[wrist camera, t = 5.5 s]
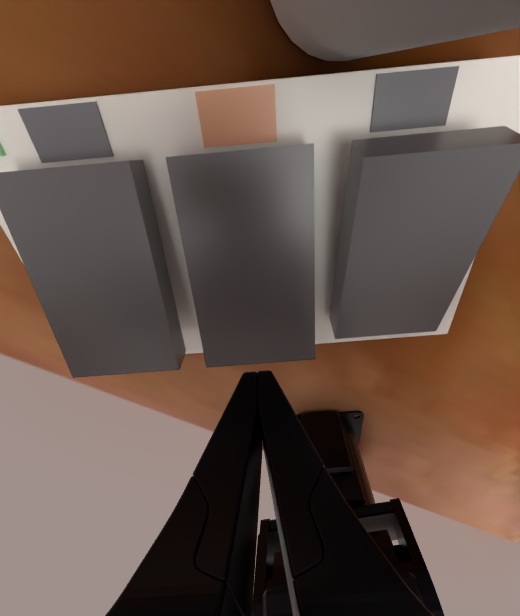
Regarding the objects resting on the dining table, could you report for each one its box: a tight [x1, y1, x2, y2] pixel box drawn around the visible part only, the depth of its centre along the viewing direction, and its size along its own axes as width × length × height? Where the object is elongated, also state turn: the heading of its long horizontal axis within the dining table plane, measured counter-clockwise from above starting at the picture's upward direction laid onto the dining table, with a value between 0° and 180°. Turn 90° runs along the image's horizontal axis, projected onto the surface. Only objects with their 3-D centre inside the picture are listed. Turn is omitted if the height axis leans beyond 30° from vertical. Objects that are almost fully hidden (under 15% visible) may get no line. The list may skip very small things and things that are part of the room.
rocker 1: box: [0, 160, 186, 378], centre depth 11 cm, size 7×4×1 cm, turn 5°
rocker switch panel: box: [0, 55, 520, 354], centre depth 13 cm, size 10×17×3 cm, turn 95°
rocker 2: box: [166, 143, 315, 367], centre depth 10 cm, size 7×4×1 cm, turn 5°
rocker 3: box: [329, 126, 520, 339], centre depth 10 cm, size 7×4×1 cm, turn 5°
